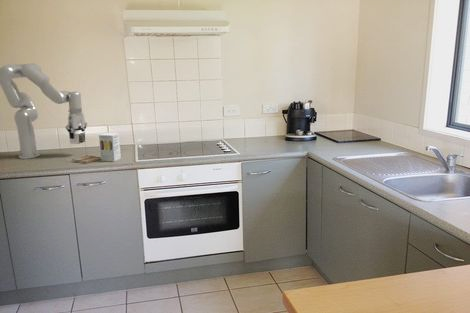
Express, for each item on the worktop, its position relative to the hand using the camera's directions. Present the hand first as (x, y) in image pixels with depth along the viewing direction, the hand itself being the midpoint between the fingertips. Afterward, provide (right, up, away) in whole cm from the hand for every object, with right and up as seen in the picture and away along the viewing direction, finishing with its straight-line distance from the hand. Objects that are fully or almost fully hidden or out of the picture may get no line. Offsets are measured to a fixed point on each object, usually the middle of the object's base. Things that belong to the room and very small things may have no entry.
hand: (77, 137), depth 271 cm
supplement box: (+25, -15, -9) cm, 31 cm away
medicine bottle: (0, -4, +1) cm, 4 cm away
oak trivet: (+10, -15, -10) cm, 21 cm away
